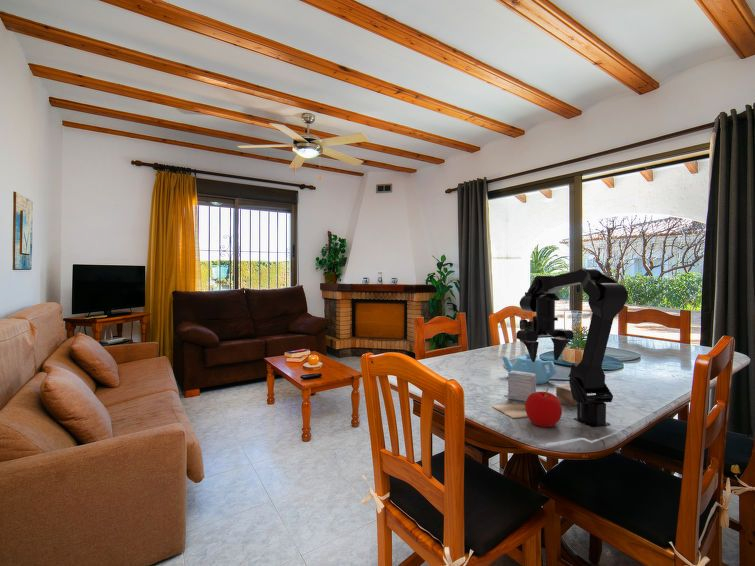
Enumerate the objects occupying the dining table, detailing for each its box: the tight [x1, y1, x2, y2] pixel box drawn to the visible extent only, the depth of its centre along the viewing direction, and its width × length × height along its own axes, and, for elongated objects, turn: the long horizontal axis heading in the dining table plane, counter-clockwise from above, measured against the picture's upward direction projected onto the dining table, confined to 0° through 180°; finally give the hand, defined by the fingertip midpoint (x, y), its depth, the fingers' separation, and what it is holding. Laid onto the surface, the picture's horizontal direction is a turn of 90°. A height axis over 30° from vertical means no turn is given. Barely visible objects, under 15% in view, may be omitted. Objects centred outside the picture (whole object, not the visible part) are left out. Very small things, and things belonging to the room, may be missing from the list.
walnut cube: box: [555, 384, 578, 408], centre depth 117 cm, size 5×5×5 cm
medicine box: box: [507, 370, 537, 402], centre depth 120 cm, size 8×4×9 cm, turn 55°
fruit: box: [525, 388, 563, 428], centre depth 100 cm, size 9×9×10 cm
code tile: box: [503, 394, 526, 405], centre depth 120 cm, size 11×6×1 cm, turn 18°
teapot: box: [501, 352, 558, 385], centre depth 142 cm, size 15×15×11 cm
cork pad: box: [492, 402, 528, 420], centre depth 110 cm, size 10×10×1 cm
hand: (544, 360), depth 121 cm, fingers open, 9 cm apart
